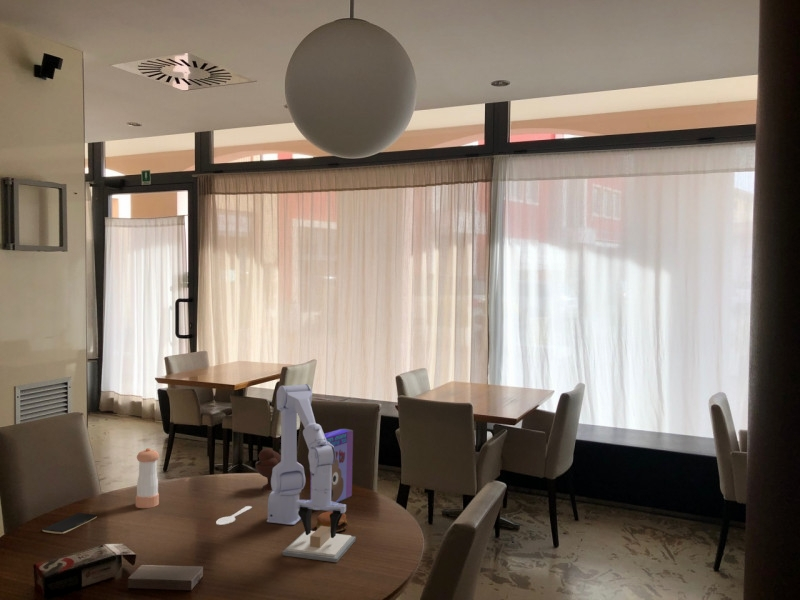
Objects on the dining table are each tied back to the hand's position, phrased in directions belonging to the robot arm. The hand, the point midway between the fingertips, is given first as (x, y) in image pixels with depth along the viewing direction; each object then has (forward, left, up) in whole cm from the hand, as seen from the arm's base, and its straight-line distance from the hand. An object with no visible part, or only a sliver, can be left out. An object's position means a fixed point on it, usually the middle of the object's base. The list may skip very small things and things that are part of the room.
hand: (320, 535), depth 178 cm
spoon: (-36, +16, -4) cm, 40 cm away
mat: (0, 0, -4) cm, 4 cm away
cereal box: (-11, +38, -4) cm, 40 cm away
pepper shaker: (-69, +16, -4) cm, 71 cm away
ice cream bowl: (-38, +45, -4) cm, 59 cm away
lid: (0, 0, -3) cm, 3 cm away
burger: (-2, +15, -4) cm, 16 cm away
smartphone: (-80, -6, -4) cm, 80 cm away
